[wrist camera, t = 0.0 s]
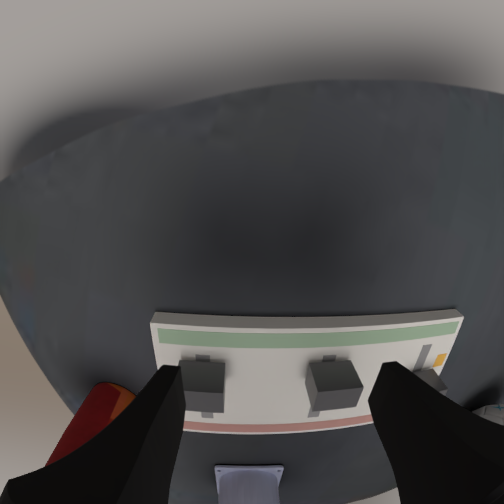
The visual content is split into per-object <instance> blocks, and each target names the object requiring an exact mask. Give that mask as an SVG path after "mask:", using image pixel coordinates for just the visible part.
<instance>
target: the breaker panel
mask: <svg viewBox="0 0 504 504" xmlns="http://www.w3.org/2000/svg"><path fill="white" fill-rule="evenodd" d="M463 318H464V316H463V315H462V314H461V313H459V312H458V311H457V310H456V309H447V310H437V311H426V312H414V313H400V314H383V315H363V316H333V317H250V316H219V315H198V314H181V313H167V312H155V314H154V316H153V317H152V319H151V321H150V327H151V334H152V340H153V346H154V352H155V358H156V363H157V368H158V369H159V368H160V367H161V366H162V365H163V364H164V365H174V366H178V363H179V360H186V361H200V362H218V363H225V366H226V386H225V403H224V413H210V412H196V411H185V419H184V427H183V431H193V432H205V433H222V434H284V433H300V432H312V431H322V430H331V429H339V428H346V427H353V426H359V425H365V424H370V423H374V422H373V419H372V415H371V412H370V408H369V404H368V398H369V396H370V393H371V391H372V389H373V386H374V384H375V381H376V379H377V376H378V374H379V371H380V368H381V366H382V363H385V362H392V361H397V362H398V363H400V364H401V365H403V366H404V367H406V368H407V369H409V370H410V371H411V372H418V371H423V370H428V369H432V368H433V369H434V371H435V372H436V373H437V375H438V376H439V374H440V372H441V370H442V368H443V366H444V364H445V362H446V360H447V358H448V355H449V353H450V351H451V348H452V346H453V344H454V341H455V339H456V336H457V334H458V331H459V329H460V326H461V324H462V321H463ZM346 360H351V362H352V364H353V366H354V368H355V370H356V372H357V374H358V376H359V378H360V380H361V382H362V384H363V386H364V388H363V391H362V393H361V396H360V398H359V401H358V403H357V406H356V407H351V408H344V409H335V410H326V411H314V412H312V409H311V405H310V401H309V397H308V393H307V390H306V386H305V379H306V374H307V370H308V365H309V363H315V362H332V361H346Z"/></svg>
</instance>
